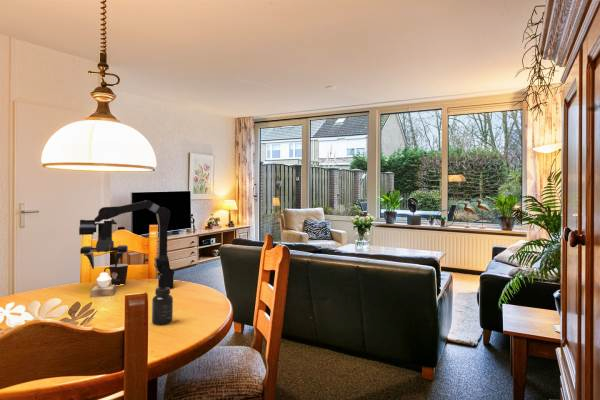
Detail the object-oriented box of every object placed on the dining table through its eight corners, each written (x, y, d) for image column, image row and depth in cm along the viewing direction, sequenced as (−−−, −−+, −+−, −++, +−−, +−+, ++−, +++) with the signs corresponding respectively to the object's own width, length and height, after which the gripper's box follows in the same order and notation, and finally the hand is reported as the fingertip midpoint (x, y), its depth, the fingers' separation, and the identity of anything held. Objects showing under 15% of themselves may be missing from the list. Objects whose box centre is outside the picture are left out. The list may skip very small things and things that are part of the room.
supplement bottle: (147, 323, 126) (148, 288, 126) (164, 318, 132) (165, 285, 132) (159, 327, 122) (160, 291, 122) (176, 321, 128) (177, 287, 128)
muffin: (94, 287, 165) (94, 271, 165) (108, 284, 170) (108, 270, 170) (99, 289, 161) (99, 273, 161) (113, 286, 165) (114, 271, 166)
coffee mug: (131, 284, 185) (131, 265, 186) (115, 287, 178) (115, 267, 178) (118, 281, 192) (118, 262, 192) (102, 284, 184) (102, 265, 184)
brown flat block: (115, 291, 171) (116, 284, 171) (113, 295, 162) (113, 288, 162) (94, 292, 168) (94, 285, 168) (90, 297, 159) (90, 289, 159)
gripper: (77, 236, 155) (76, 272, 155) (125, 235, 161) (125, 270, 161) (83, 234, 165) (82, 268, 165) (128, 233, 172) (127, 266, 171)
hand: (104, 268), depth 165 cm, fingers open, 9 cm apart
